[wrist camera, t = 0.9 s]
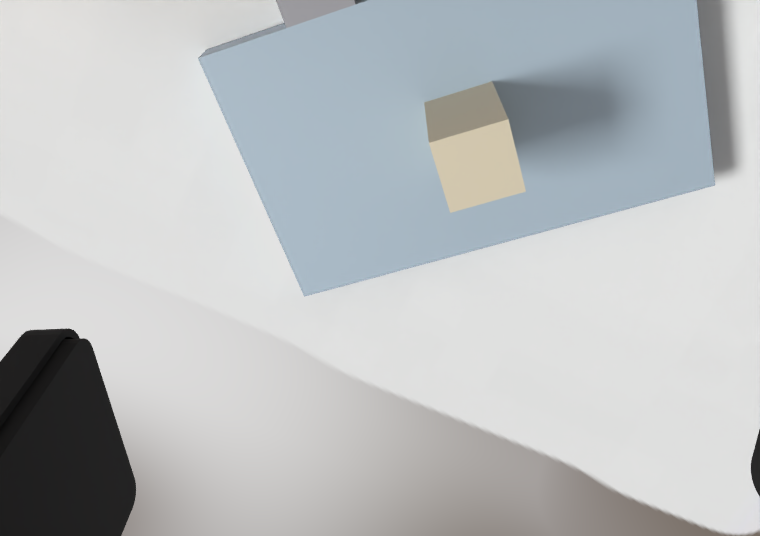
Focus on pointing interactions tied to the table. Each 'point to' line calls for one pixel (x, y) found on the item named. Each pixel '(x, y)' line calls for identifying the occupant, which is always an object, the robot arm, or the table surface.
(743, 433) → the table surface
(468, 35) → the door
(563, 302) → the table surface
